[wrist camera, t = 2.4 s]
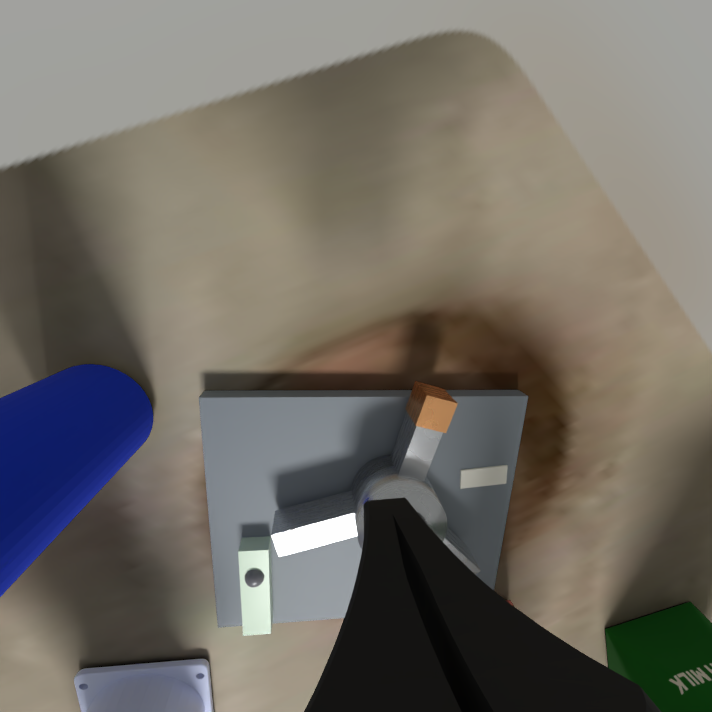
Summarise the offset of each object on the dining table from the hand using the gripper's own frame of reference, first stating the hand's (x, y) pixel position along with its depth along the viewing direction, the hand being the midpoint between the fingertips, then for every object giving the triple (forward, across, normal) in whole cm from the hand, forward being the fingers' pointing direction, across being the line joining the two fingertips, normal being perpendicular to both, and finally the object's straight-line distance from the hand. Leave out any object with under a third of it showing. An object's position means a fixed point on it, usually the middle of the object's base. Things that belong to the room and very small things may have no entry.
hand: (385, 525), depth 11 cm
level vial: (+8, +6, +10) cm, 14 cm away
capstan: (+8, -2, +4) cm, 9 cm away
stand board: (+9, 0, +6) cm, 11 cm away
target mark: (+8, -7, +4) cm, 12 cm away
